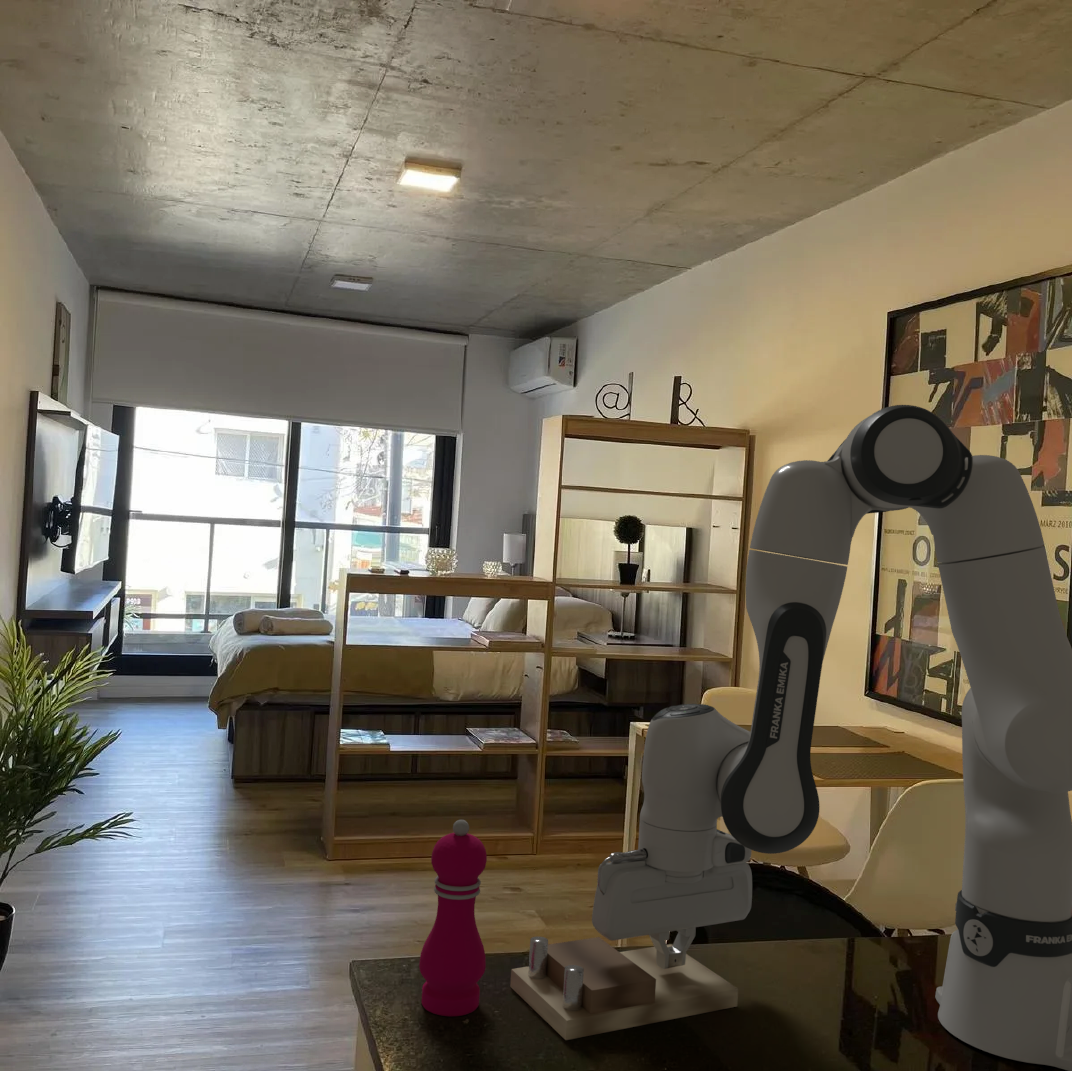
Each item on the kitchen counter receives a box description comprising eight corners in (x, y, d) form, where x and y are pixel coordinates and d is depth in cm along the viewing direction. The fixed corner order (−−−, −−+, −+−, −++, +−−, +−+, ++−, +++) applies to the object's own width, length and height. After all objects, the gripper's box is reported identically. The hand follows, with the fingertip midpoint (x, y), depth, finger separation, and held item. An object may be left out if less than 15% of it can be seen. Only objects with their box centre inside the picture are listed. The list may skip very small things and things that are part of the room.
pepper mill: (473, 1023, 107) (485, 832, 107) (407, 1013, 108) (419, 824, 108) (490, 994, 114) (501, 815, 114) (428, 984, 115) (439, 807, 115)
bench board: (670, 960, 126) (673, 911, 126) (737, 1006, 115) (740, 952, 115) (510, 986, 116) (513, 933, 116) (565, 1040, 104) (569, 981, 104)
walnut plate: (597, 958, 120) (598, 937, 120) (654, 1002, 110) (656, 979, 110) (537, 967, 117) (538, 945, 117) (590, 1014, 106) (591, 990, 106)
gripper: (614, 863, 110) (608, 991, 110) (763, 845, 120) (756, 963, 120) (585, 846, 116) (578, 968, 116) (728, 830, 125) (723, 943, 125)
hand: (670, 965), depth 118 cm, fingers closed
